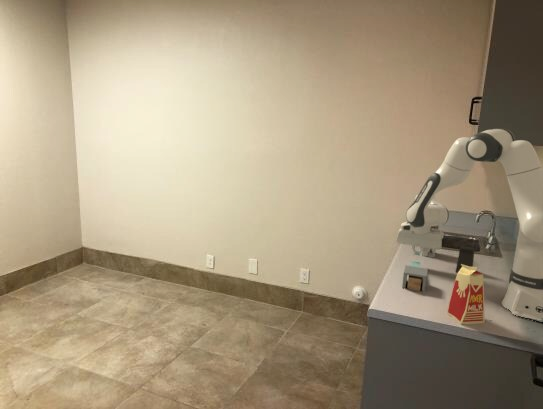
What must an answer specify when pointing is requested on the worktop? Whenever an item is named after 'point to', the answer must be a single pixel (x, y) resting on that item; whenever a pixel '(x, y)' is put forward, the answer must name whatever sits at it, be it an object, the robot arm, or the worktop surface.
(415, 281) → the cube
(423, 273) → the tunnel
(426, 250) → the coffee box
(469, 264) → the phone stand
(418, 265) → the bar
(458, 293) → the milk carton
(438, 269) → the worktop surface
